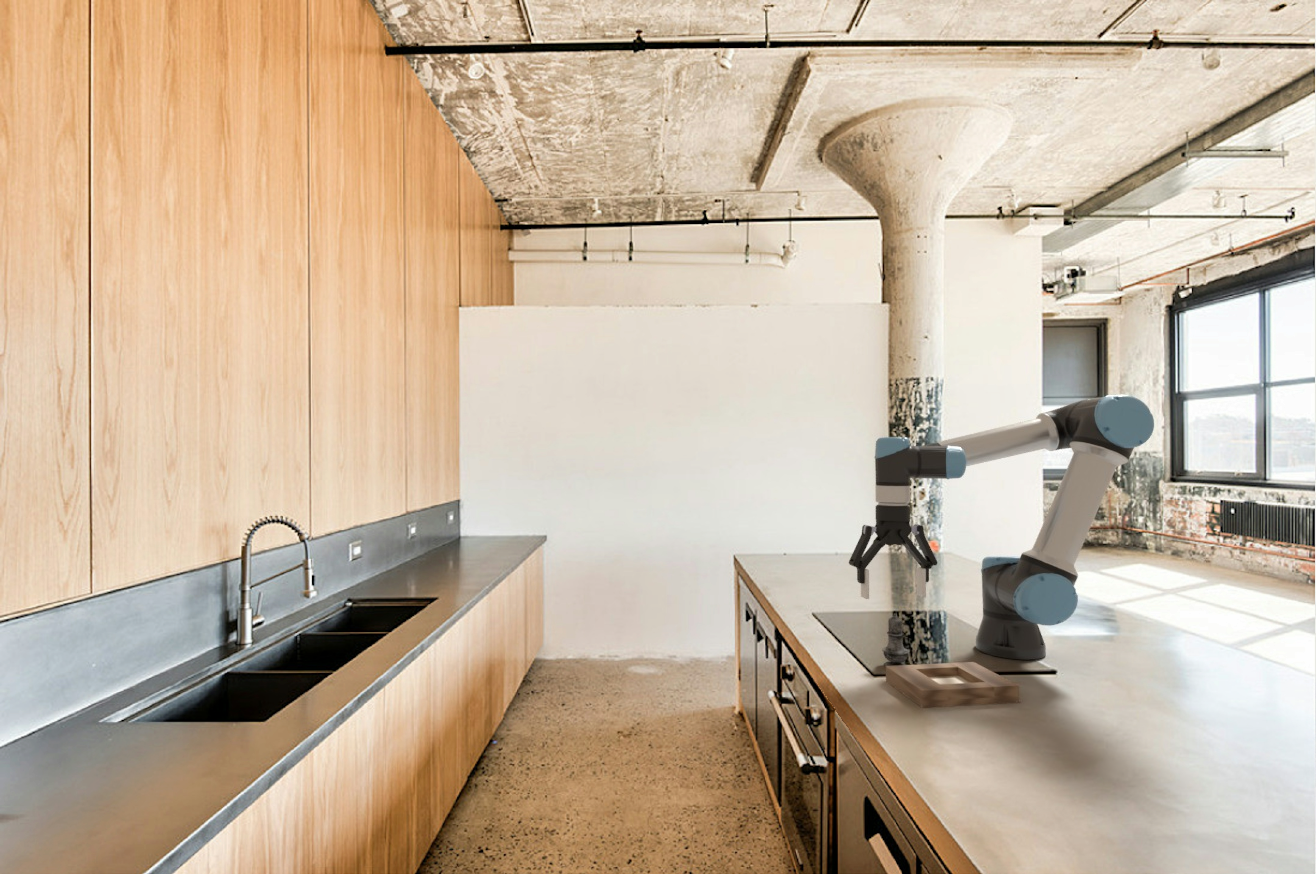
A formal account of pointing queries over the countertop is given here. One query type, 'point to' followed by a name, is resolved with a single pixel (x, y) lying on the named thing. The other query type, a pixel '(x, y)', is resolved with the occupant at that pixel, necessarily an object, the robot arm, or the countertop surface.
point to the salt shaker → (895, 643)
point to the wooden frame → (951, 684)
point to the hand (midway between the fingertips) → (893, 597)
